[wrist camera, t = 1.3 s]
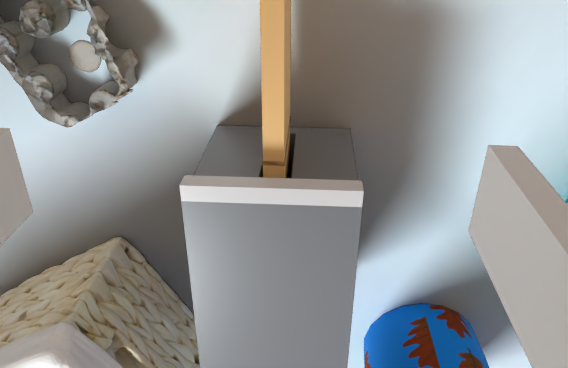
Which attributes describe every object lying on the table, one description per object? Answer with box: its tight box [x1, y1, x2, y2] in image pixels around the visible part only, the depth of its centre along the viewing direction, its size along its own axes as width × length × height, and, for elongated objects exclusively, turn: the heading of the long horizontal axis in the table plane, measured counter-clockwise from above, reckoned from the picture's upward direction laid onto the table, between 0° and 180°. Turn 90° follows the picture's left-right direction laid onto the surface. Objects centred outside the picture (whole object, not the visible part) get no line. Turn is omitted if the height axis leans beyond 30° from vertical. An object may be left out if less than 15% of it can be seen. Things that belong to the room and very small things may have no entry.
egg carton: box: [0, 0, 138, 127], centre depth 33 cm, size 11×8×4 cm
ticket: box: [260, 0, 291, 178], centre depth 32 cm, size 22×1×7 cm, turn 0°
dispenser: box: [179, 125, 364, 368], centre depth 35 cm, size 15×10×11 cm, turn 0°
